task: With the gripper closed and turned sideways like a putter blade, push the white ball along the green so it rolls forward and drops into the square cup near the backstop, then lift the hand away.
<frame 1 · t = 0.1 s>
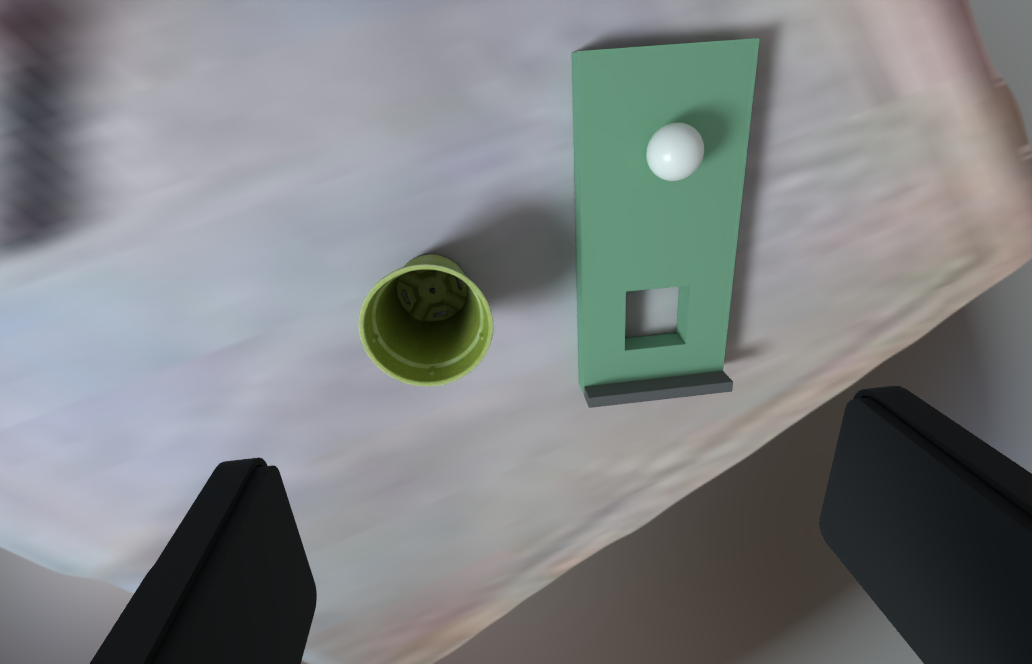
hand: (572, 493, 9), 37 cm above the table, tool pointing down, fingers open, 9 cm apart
green: (651, 232, 45), on the table
ball: (674, 152, 39), point 4 cm above the table, touching green
plant pot: (432, 286, 46), on the table
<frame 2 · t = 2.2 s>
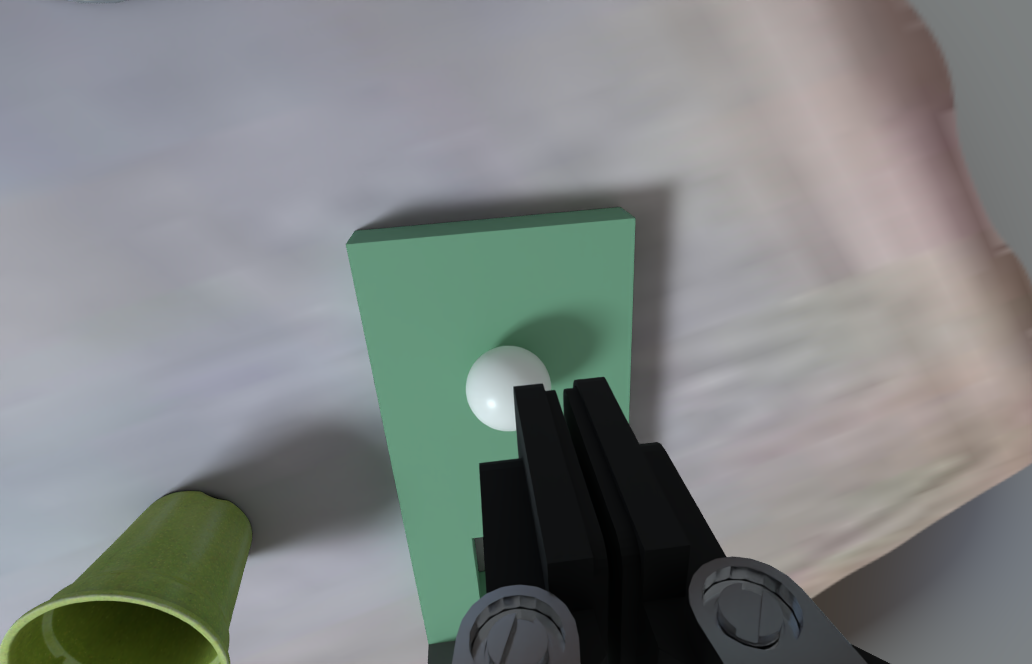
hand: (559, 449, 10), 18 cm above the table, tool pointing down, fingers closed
green: (509, 450, 32), on the table
ball: (508, 388, 25), point 4 cm above the table, touching green
plant pot: (200, 525, 32), on the table
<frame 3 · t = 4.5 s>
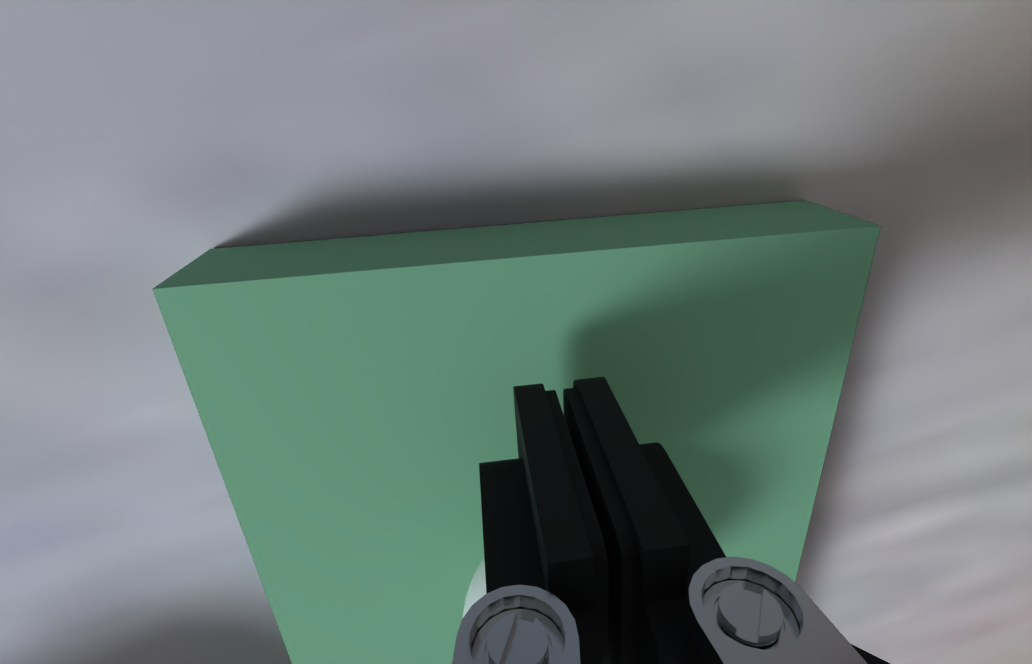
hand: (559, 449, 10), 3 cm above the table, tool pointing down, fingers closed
green: (541, 642, 18), on the table
ball: (562, 622, 11), point 4 cm above the table, touching green, gripper
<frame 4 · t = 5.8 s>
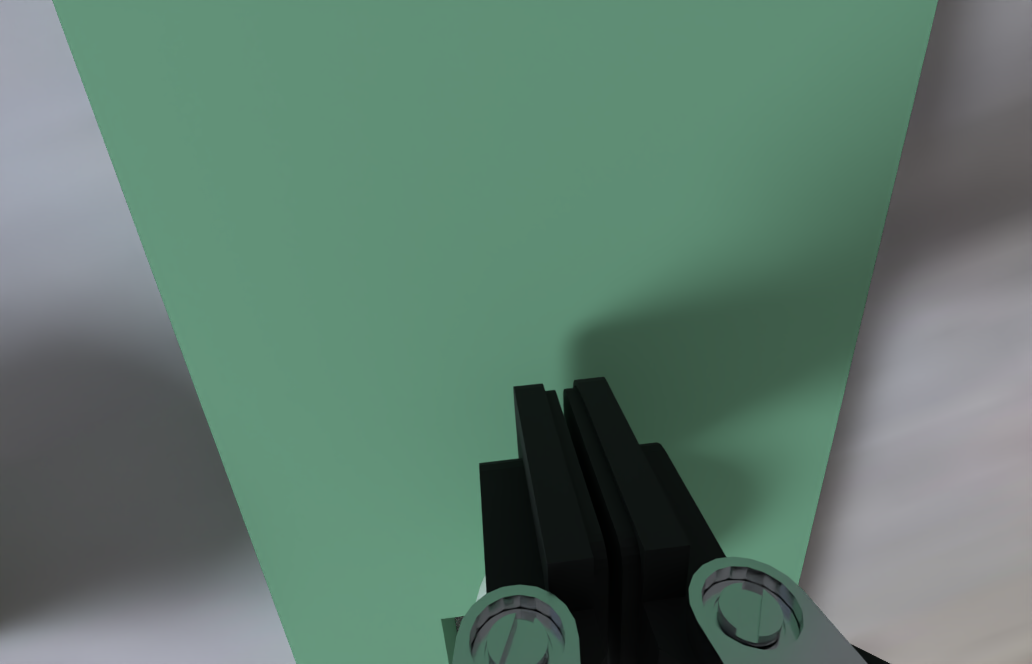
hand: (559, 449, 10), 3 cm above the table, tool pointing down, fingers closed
green: (532, 410, 14), on the table
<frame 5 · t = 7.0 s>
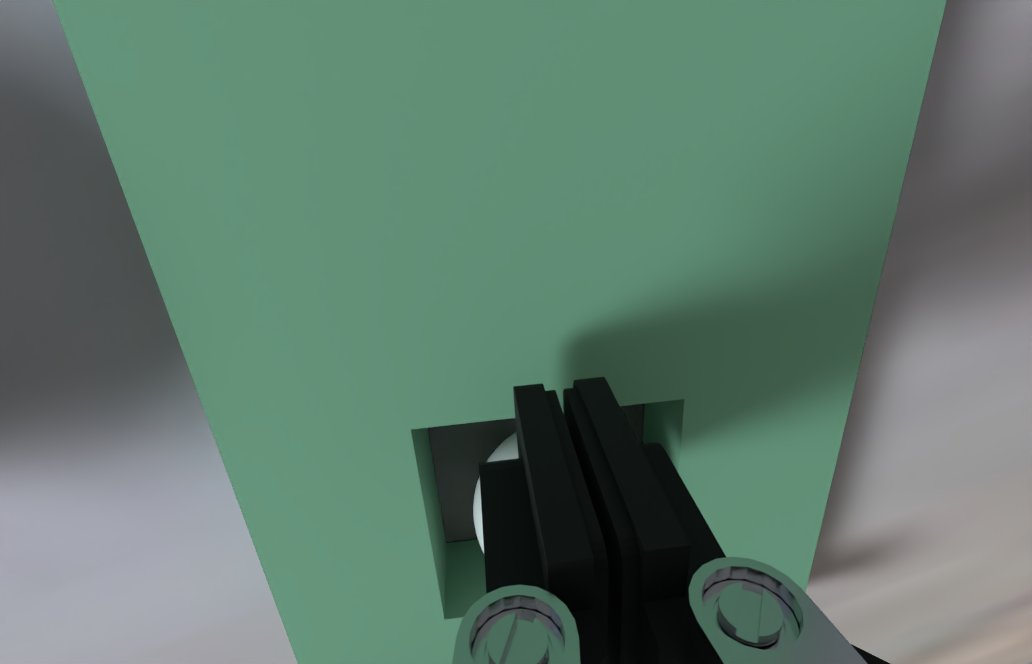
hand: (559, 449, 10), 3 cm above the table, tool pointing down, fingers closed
green: (524, 182, 11), on the table
ball: (559, 507, 12), point 2 cm above the table, tilted 72°, touching gripper
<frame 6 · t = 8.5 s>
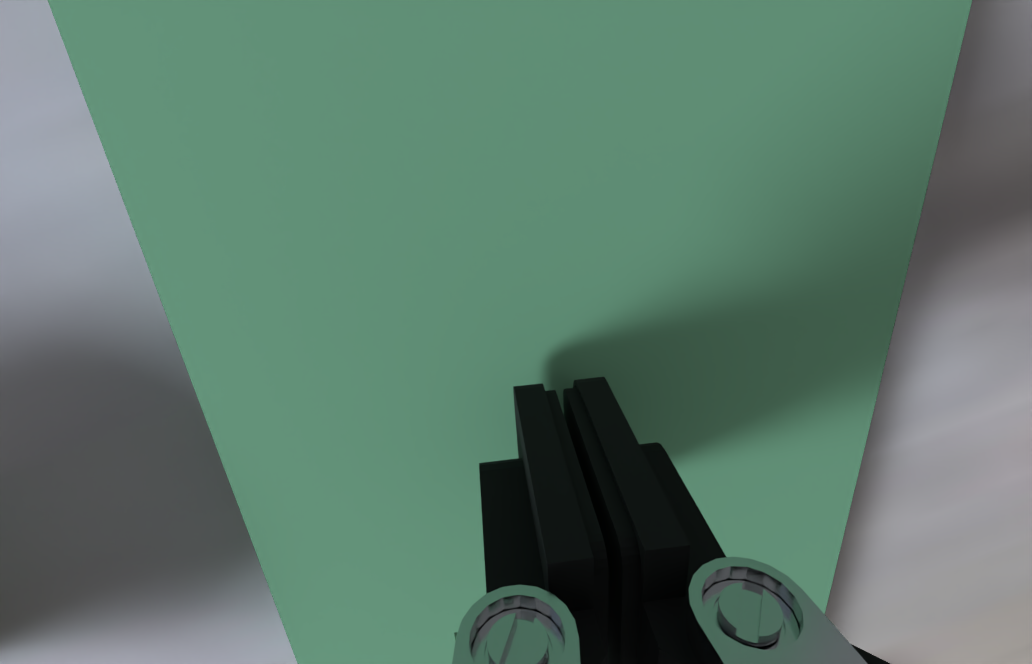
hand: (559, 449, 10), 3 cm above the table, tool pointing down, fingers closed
green: (547, 412, 13), on the table
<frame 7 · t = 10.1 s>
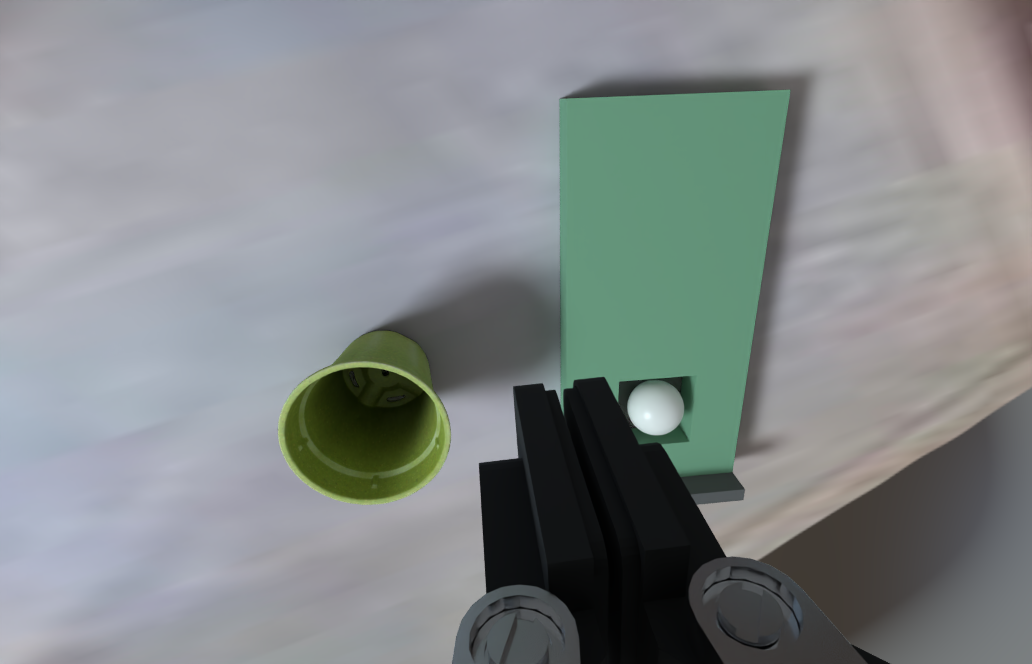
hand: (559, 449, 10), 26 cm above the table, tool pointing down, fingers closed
green: (650, 310, 38), on the table
ball: (655, 407, 39), point 2 cm above the table, tilted 63°
plant pot: (386, 366, 38), on the table
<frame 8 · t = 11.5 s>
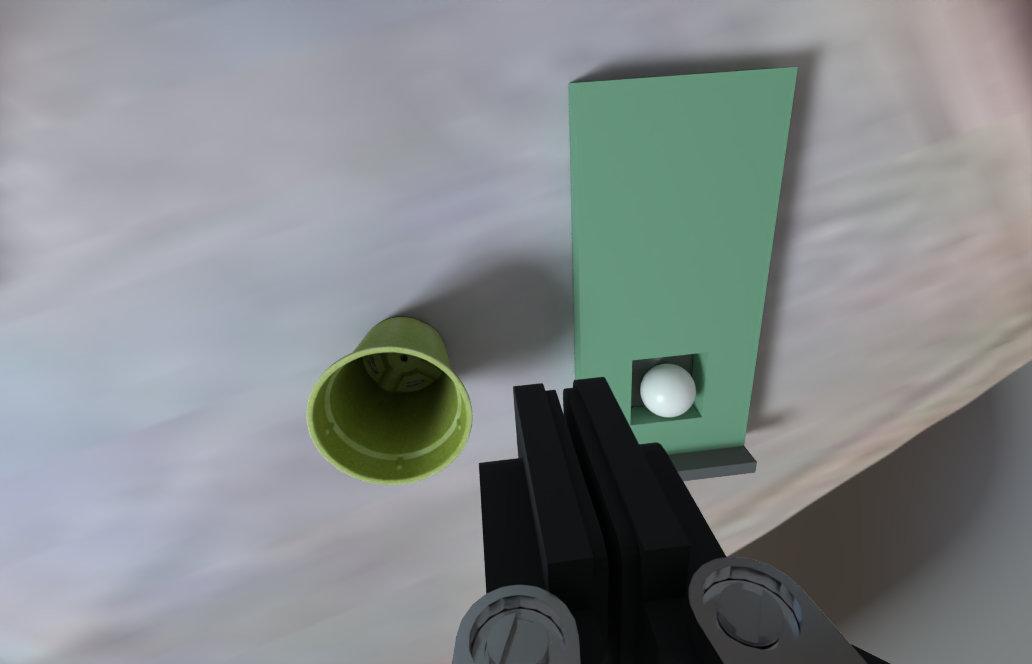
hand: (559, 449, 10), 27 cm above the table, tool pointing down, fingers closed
green: (661, 289, 39), on the table
ball: (667, 390, 40), point 2 cm above the table, tilted 77°
plant pot: (404, 352, 39), on the table
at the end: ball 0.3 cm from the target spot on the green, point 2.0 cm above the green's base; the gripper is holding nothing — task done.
